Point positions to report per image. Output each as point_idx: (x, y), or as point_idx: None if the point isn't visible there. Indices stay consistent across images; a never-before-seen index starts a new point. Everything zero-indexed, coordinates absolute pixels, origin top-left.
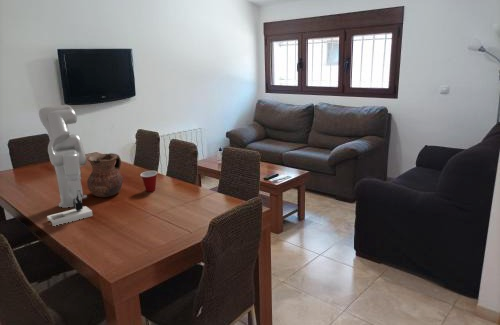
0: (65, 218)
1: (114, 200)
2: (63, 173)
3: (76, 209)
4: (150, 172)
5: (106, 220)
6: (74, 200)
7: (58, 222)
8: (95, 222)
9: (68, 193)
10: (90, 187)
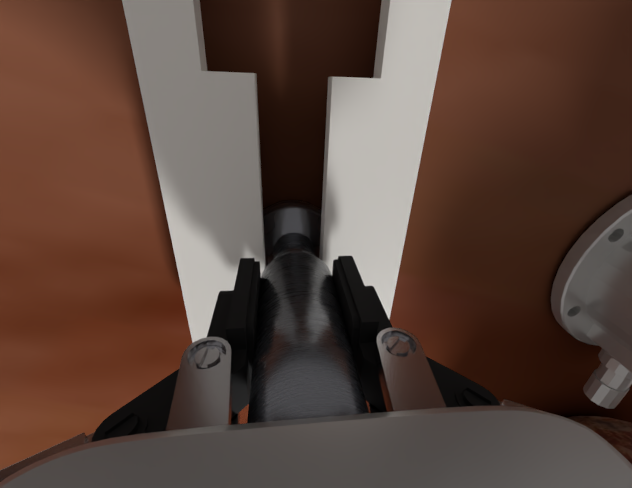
0: (135, 43)
1: None
2: None
3: (243, 261)
4: None
5: (16, 365)
6: (287, 366)
7: None
8: (8, 295)
9: (607, 462)
10: None
